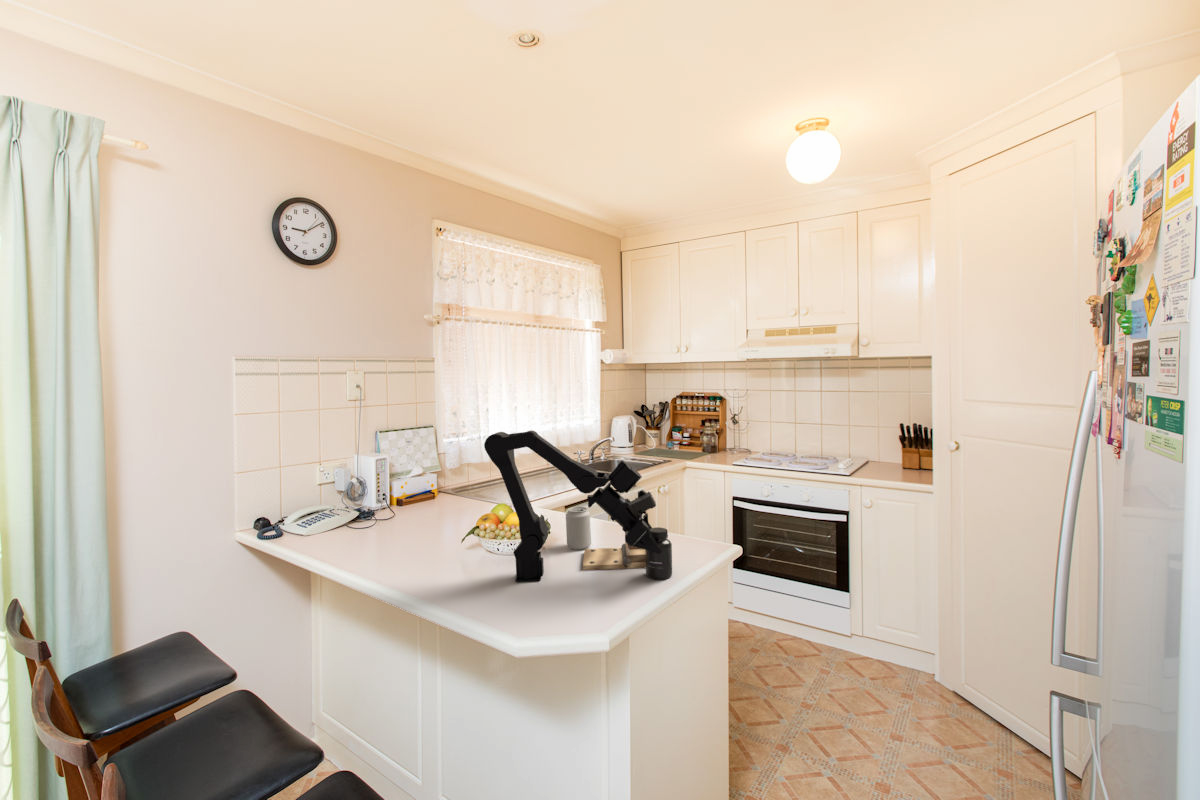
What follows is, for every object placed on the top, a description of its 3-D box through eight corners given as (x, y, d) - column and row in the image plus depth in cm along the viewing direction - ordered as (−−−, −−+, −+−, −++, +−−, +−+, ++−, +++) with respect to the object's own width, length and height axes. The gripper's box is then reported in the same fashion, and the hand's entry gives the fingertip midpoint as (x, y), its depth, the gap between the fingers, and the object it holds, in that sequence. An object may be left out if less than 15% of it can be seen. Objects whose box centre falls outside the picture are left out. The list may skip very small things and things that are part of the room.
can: (590, 550, 159) (589, 511, 159) (566, 551, 159) (564, 511, 159) (591, 542, 167) (590, 505, 166) (568, 543, 167) (566, 506, 166)
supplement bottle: (651, 582, 133) (649, 534, 132) (642, 572, 139) (640, 527, 139) (677, 578, 135) (675, 531, 134) (666, 569, 141) (664, 524, 141)
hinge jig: (583, 570, 143) (582, 558, 143) (585, 553, 157) (584, 542, 157) (671, 566, 143) (671, 554, 143) (665, 550, 157) (665, 539, 157)
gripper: (636, 490, 127) (684, 534, 127) (636, 476, 146) (678, 514, 145) (605, 524, 128) (653, 568, 128) (608, 505, 146) (650, 544, 146)
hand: (660, 546), depth 137 cm, fingers open, 9 cm apart
